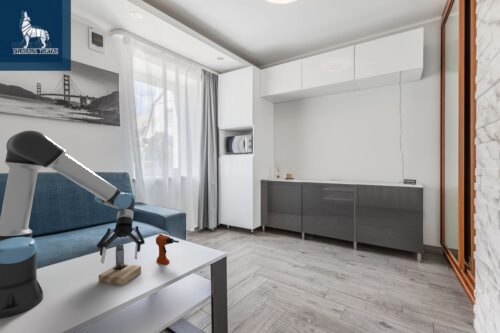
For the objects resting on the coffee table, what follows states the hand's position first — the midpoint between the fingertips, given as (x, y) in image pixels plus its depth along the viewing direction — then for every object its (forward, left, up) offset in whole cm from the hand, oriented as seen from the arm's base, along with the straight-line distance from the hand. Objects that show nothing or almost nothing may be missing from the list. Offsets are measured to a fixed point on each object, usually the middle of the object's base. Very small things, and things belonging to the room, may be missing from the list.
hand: (119, 260), depth 108 cm
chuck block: (+2, -1, -7) cm, 7 cm away
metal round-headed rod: (-1, +1, -7) cm, 7 cm away
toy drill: (+16, +15, -7) cm, 23 cm away
